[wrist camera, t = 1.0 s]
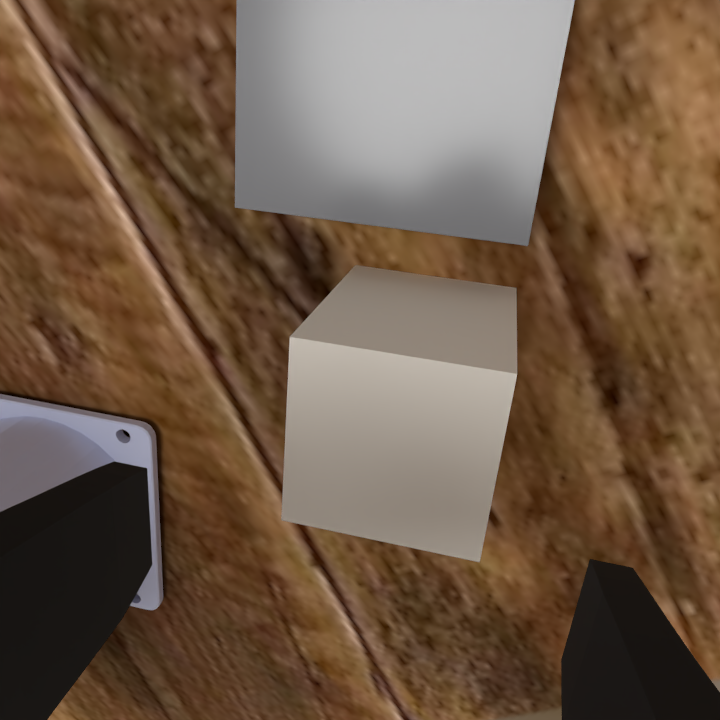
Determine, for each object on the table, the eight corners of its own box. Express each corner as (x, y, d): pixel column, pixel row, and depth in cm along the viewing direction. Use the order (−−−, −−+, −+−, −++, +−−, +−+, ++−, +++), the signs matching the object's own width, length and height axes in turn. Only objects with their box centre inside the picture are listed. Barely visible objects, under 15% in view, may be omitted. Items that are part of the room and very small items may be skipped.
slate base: (255, 198, 18) (234, 207, 17) (262, -125, 15) (238, -145, 14) (526, 233, 17) (528, 245, 16) (591, -111, 14) (600, -133, 13)
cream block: (343, 405, 20) (281, 520, 15) (355, 264, 18) (289, 337, 13) (489, 431, 20) (479, 562, 14) (516, 287, 18) (517, 373, 12)
